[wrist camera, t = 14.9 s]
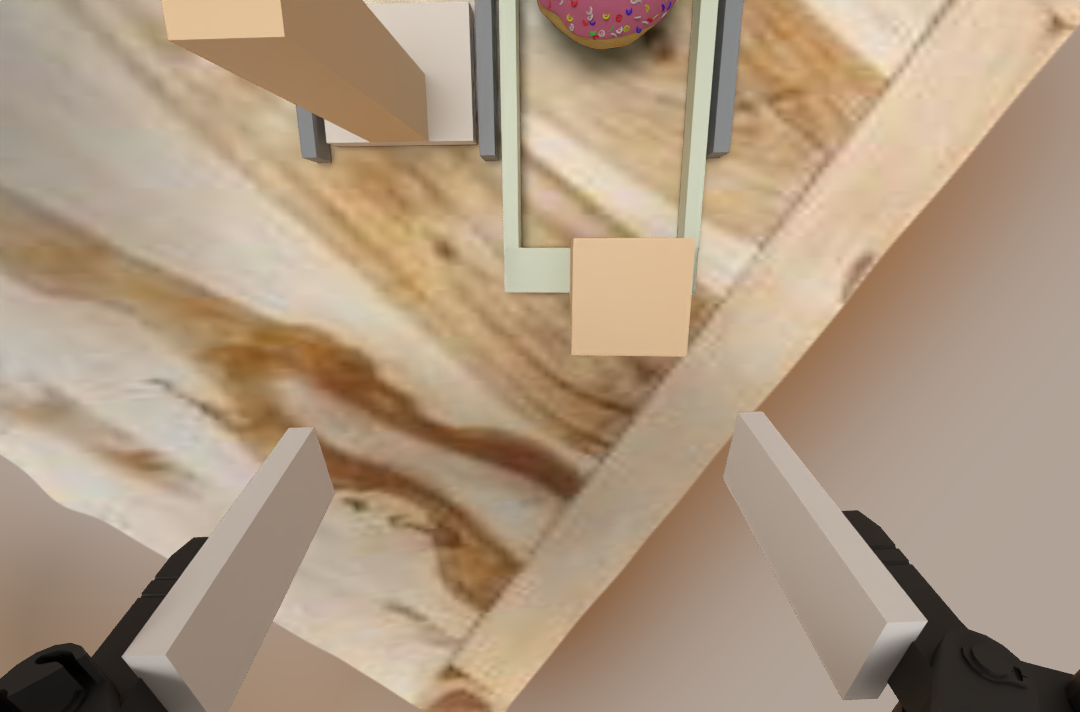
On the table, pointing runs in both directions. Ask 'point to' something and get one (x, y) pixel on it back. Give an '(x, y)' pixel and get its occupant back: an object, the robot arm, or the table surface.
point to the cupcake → (605, 19)
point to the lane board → (487, 84)
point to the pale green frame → (615, 263)
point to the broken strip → (347, 62)
